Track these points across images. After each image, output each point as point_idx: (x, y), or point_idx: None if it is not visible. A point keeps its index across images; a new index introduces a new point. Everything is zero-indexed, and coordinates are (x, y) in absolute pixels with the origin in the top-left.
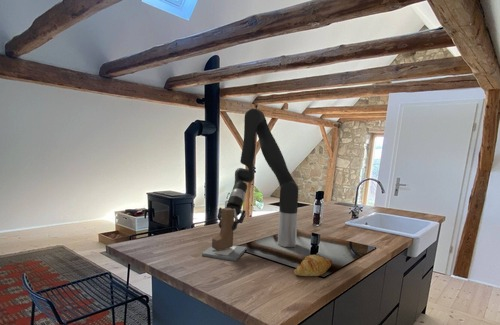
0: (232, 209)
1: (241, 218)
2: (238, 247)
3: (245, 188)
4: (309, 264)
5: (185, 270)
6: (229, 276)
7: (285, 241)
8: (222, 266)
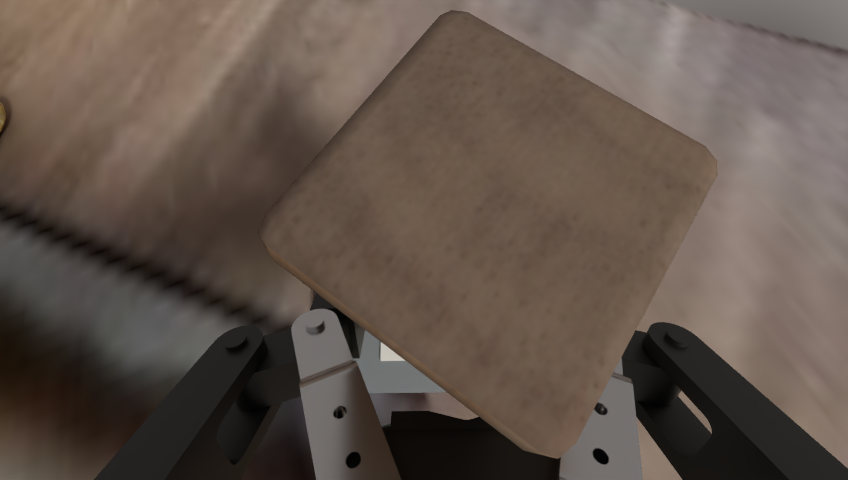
0: (313, 175)
1: (204, 363)
2: (365, 359)
3: None
4: None
5: (501, 10)
6: (309, 22)
7: None
8: None
